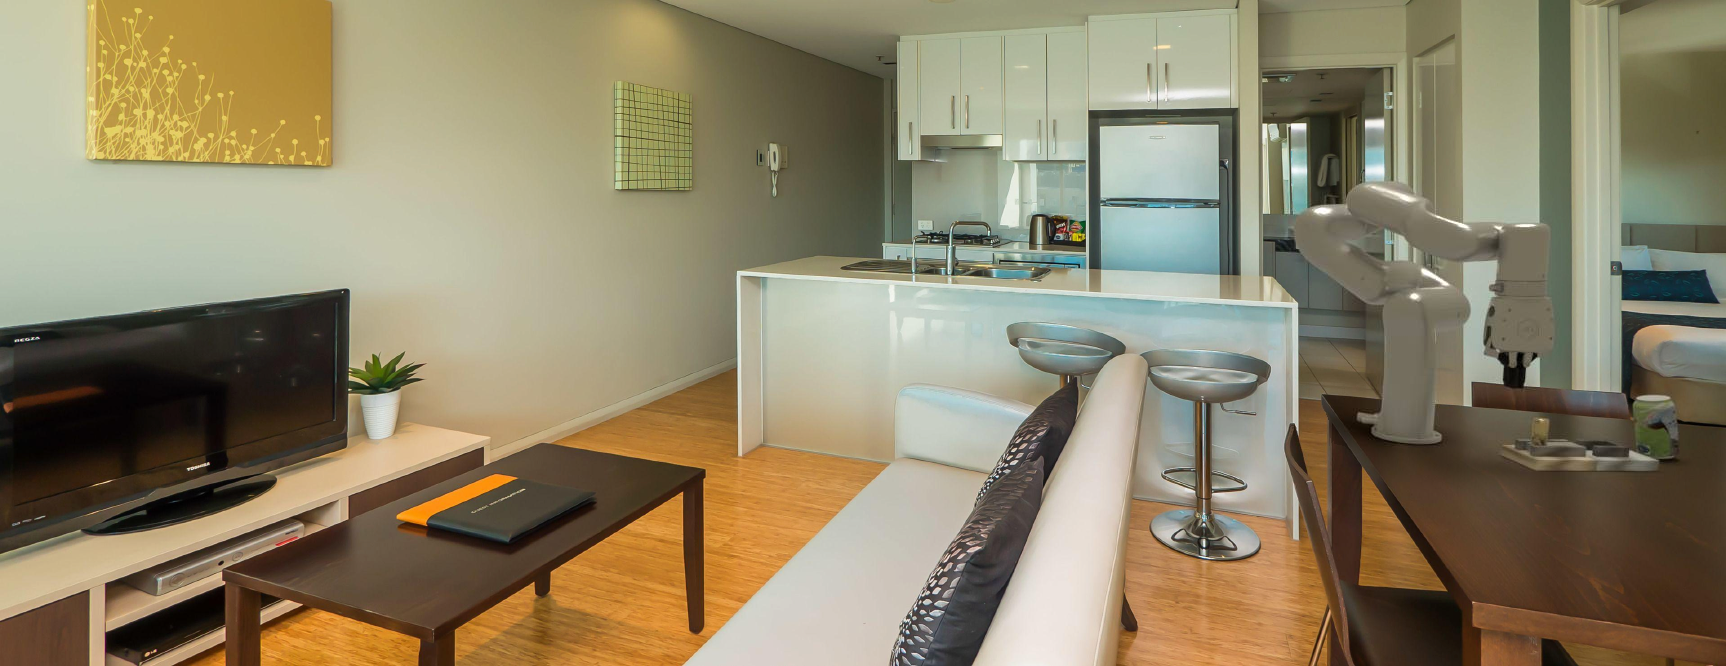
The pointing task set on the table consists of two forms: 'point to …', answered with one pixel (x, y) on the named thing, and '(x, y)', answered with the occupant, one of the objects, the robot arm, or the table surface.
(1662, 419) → the beverage can
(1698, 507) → the table surface
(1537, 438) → the bolt
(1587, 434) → the table surface
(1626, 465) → the lock board
